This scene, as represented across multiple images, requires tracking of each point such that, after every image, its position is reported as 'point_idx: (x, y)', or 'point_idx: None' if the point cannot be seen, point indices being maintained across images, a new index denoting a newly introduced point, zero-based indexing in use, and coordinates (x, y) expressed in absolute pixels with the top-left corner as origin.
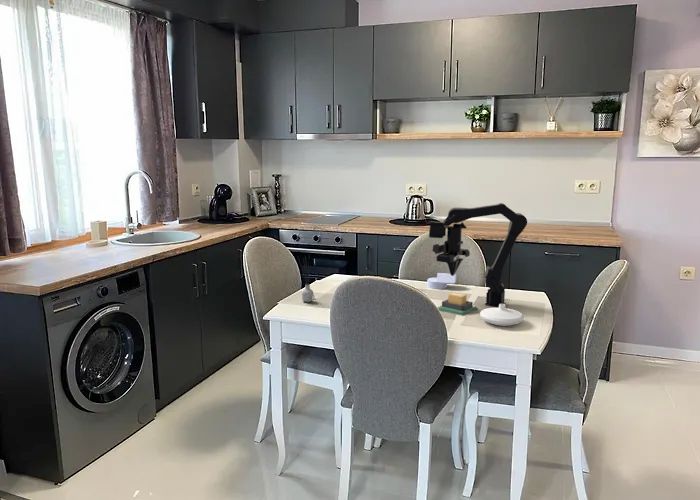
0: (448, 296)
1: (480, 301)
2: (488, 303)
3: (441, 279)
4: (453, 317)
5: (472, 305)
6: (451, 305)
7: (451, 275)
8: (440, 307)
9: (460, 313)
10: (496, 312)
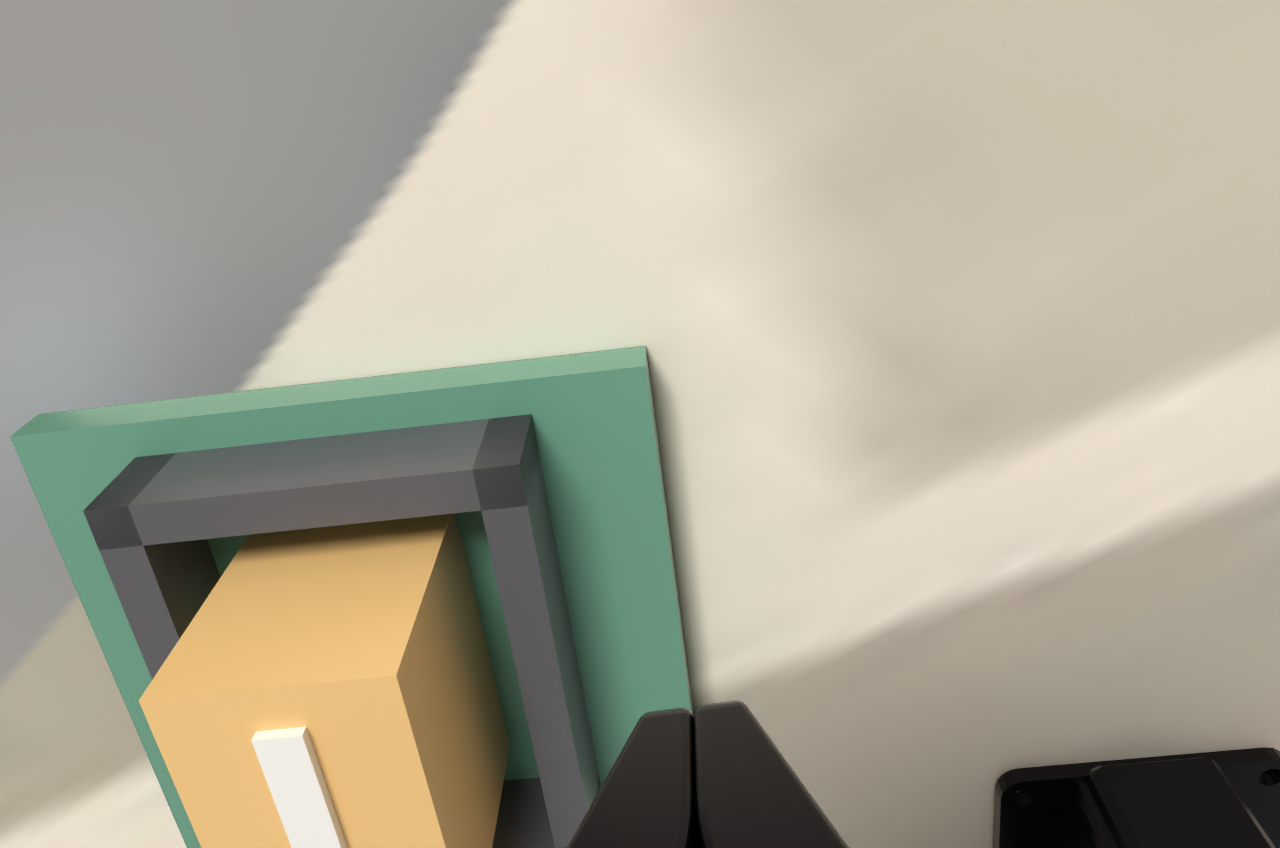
0: (162, 668)
1: (1166, 615)
2: (1047, 816)
3: None
4: (15, 804)
5: None
6: None
7: (650, 733)
8: (62, 479)
9: (190, 826)
10: None
